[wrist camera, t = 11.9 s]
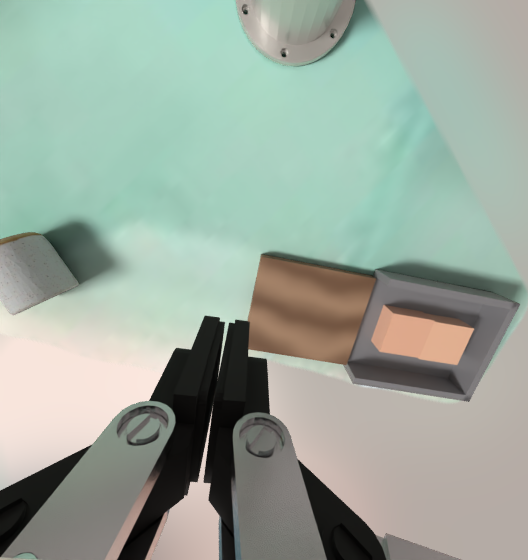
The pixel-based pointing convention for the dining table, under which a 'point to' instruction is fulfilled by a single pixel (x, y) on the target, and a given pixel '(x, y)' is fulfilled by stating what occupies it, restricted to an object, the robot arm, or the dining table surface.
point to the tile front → (402, 331)
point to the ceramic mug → (31, 272)
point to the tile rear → (446, 340)
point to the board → (307, 309)
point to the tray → (437, 301)
